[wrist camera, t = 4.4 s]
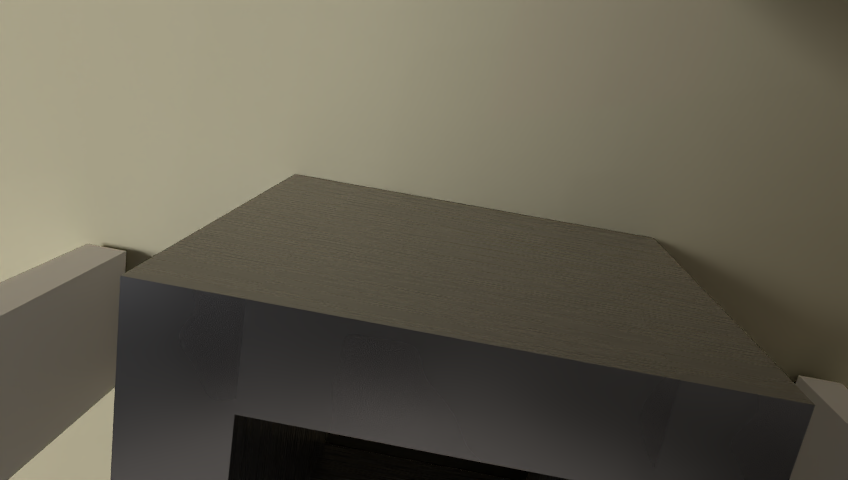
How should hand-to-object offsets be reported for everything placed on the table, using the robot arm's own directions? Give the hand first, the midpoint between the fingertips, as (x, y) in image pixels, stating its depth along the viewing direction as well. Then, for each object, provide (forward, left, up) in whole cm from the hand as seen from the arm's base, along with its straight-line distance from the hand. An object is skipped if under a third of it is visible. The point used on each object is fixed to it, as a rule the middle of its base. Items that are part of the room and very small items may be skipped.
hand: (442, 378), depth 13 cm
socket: (0, 0, 0) cm, 0 cm away
